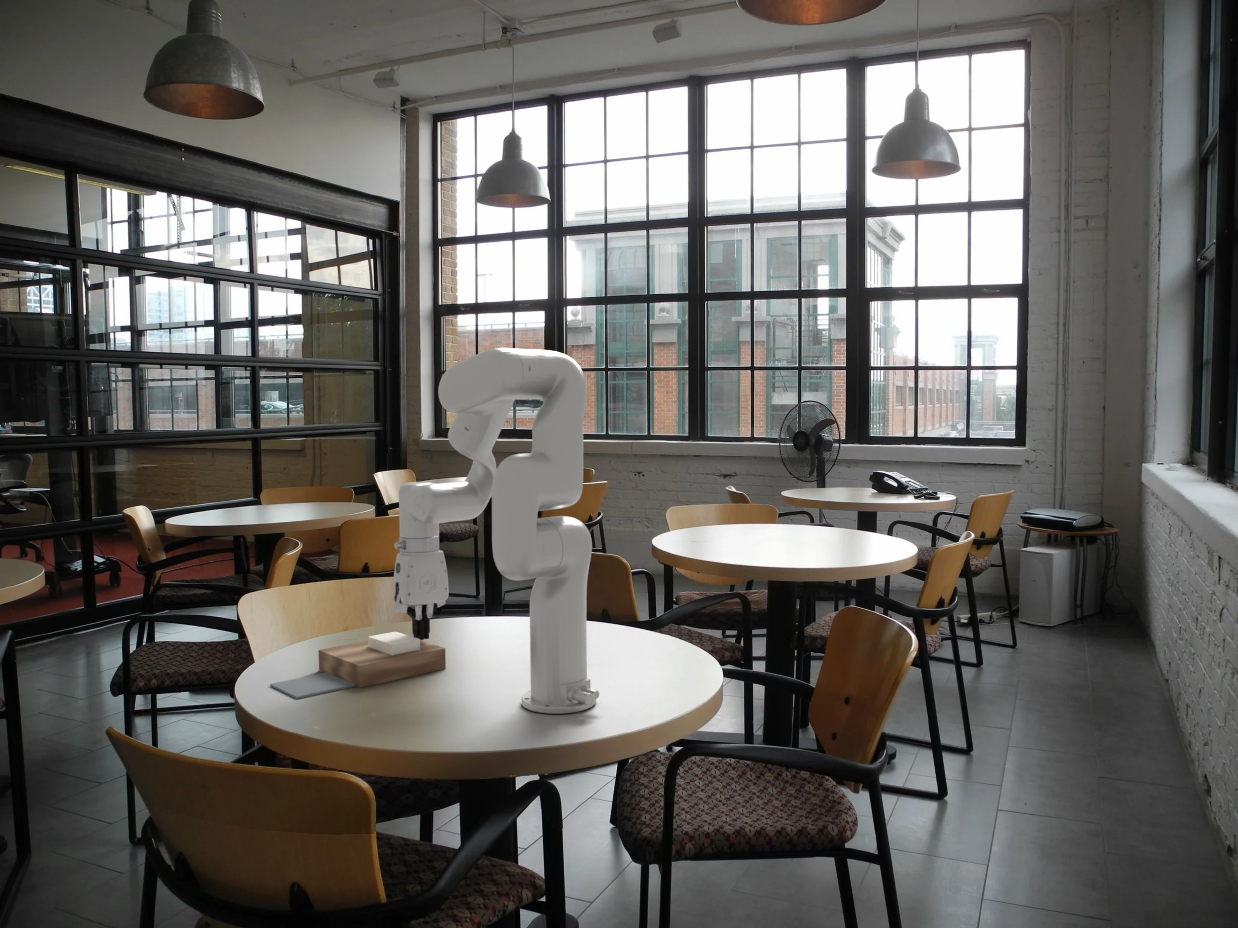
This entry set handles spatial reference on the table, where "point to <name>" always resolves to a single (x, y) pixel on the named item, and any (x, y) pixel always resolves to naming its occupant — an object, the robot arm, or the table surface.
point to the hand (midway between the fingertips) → (421, 638)
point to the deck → (379, 663)
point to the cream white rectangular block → (394, 643)
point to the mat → (312, 685)
